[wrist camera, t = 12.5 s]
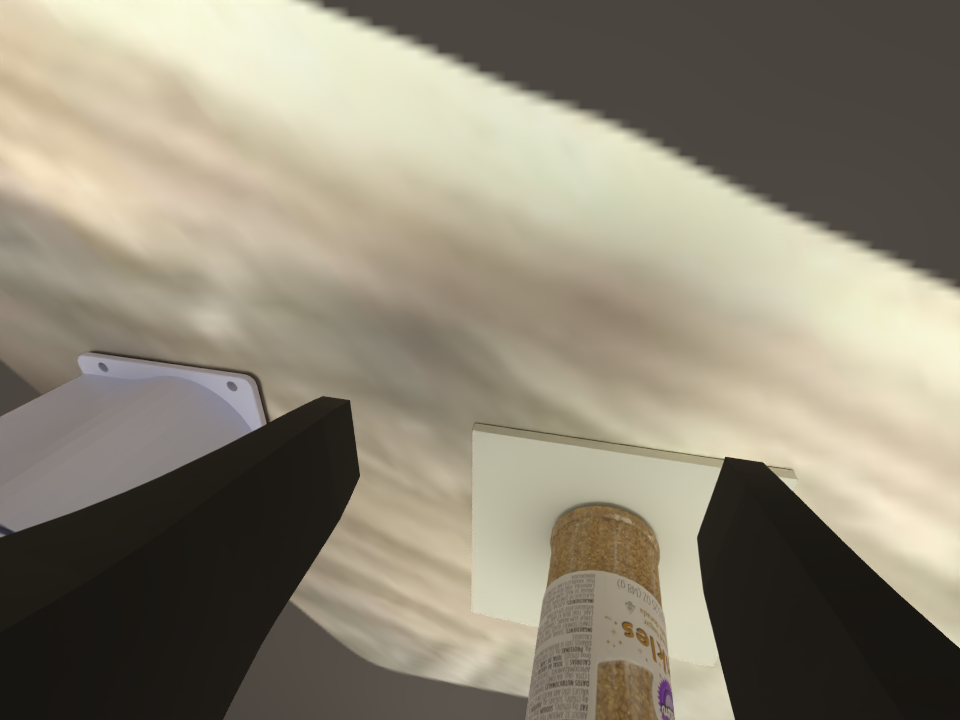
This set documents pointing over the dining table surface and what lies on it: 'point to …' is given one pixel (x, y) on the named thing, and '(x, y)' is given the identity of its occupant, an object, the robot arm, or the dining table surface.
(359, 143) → the dining table surface
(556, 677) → the sprinkles bottle
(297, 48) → the dining table surface
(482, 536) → the sage mat
